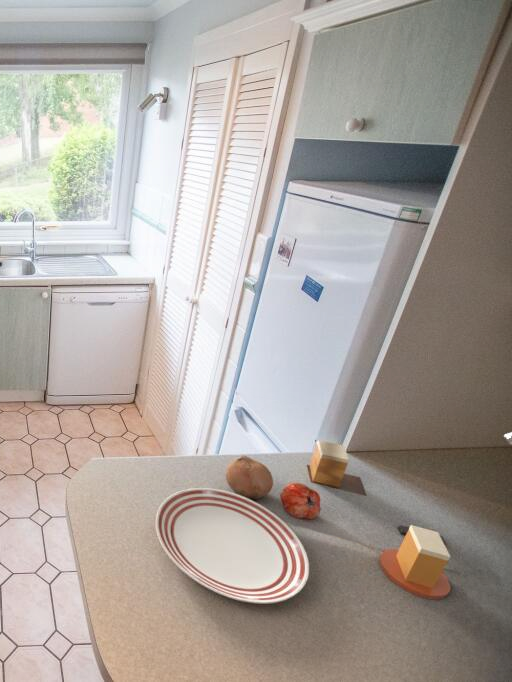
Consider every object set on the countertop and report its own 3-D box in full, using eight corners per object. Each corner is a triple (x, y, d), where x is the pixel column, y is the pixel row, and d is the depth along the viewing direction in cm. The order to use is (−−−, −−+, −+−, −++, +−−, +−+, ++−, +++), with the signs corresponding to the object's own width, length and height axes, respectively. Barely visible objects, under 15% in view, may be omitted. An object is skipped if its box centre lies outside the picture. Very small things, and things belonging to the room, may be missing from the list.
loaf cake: (358, 479, 109) (370, 449, 105) (366, 498, 103) (378, 467, 100) (305, 467, 113) (315, 438, 110) (309, 484, 107) (319, 454, 104)
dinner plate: (316, 638, 74) (321, 625, 73) (144, 577, 85) (146, 565, 83) (295, 522, 97) (299, 510, 96) (162, 485, 108) (164, 474, 106)
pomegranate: (269, 510, 103) (288, 515, 94) (274, 477, 105) (293, 480, 95) (305, 520, 101) (328, 526, 92) (310, 487, 103) (332, 490, 93)
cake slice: (422, 563, 86) (438, 532, 83) (433, 588, 81) (450, 556, 78) (395, 555, 88) (410, 524, 85) (405, 580, 83) (421, 548, 80)
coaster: (436, 563, 87) (438, 560, 87) (457, 608, 79) (460, 604, 78) (372, 546, 91) (374, 542, 91) (387, 586, 83) (388, 582, 82)
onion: (227, 493, 109) (220, 452, 110) (271, 491, 106) (264, 449, 106) (232, 507, 100) (225, 462, 101) (280, 506, 97) (273, 460, 97)
